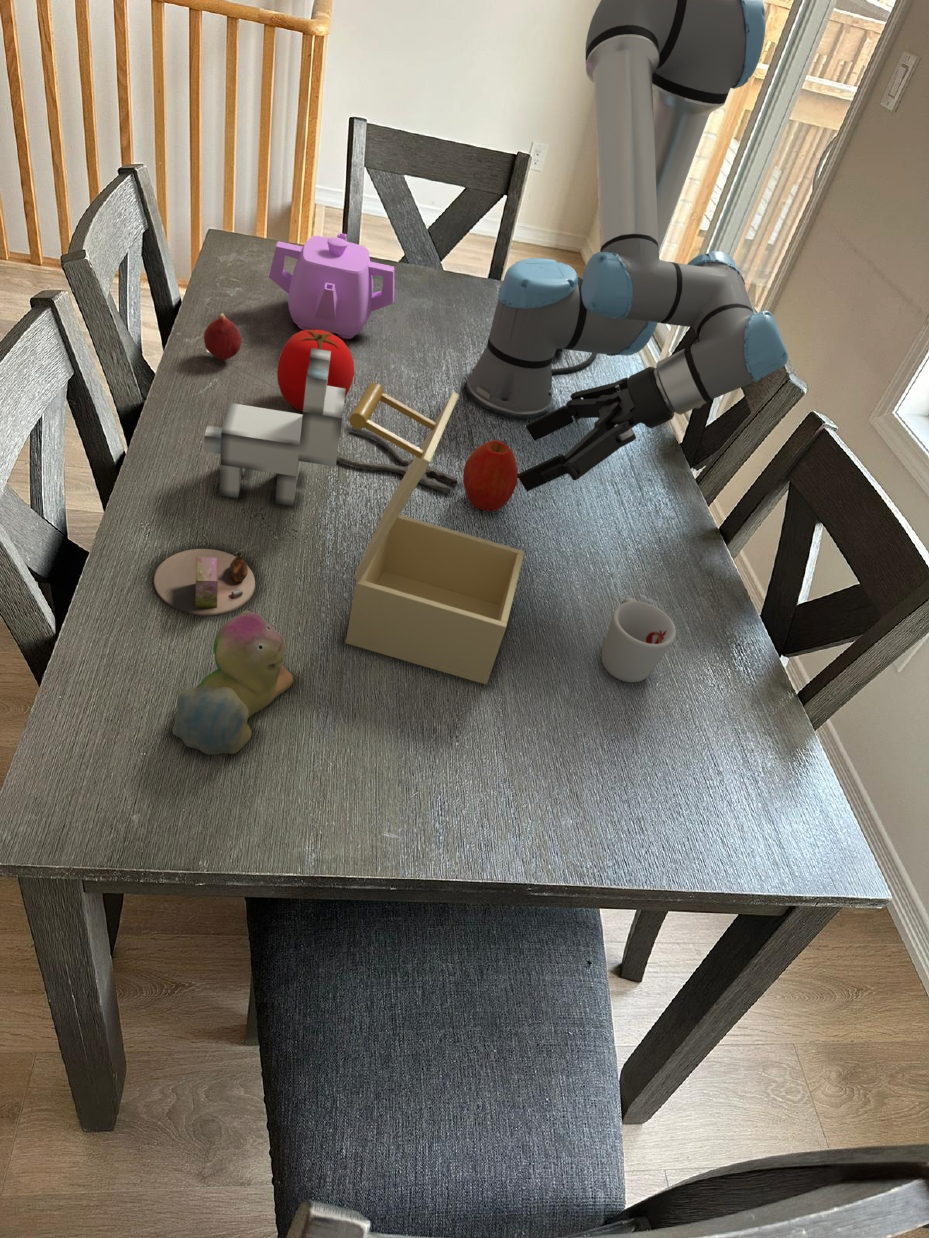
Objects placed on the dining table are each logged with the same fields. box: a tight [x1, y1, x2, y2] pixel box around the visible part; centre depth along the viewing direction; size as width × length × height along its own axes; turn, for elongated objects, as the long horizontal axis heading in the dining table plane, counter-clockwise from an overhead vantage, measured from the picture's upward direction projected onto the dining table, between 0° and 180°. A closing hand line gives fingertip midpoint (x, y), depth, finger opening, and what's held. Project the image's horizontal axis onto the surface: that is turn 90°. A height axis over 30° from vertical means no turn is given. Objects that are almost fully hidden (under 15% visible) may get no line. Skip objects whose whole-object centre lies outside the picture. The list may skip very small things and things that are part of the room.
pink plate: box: [152, 548, 256, 617], centre depth 107 cm, size 12×12×4 cm
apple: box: [462, 439, 519, 513], centre depth 129 cm, size 8×8×11 cm
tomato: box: [276, 329, 355, 413], centre depth 138 cm, size 12×12×13 cm
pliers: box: [337, 426, 458, 494], centre depth 136 cm, size 10×1×20 cm
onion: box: [203, 312, 242, 362], centre depth 144 cm, size 6×6×8 cm
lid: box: [348, 382, 460, 581], centre depth 98 cm, size 18×15×9 cm
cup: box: [601, 597, 677, 683], centre depth 112 cm, size 11×8×8 cm
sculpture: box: [172, 610, 294, 755], centre depth 92 cm, size 15×8×10 cm, turn 164°
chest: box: [345, 513, 525, 686], centre depth 108 cm, size 18×15×10 cm
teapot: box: [268, 232, 395, 340], centre depth 159 cm, size 19×18×15 cm
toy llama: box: [203, 348, 346, 507], centre depth 118 cm, size 8×18×20 cm, turn 92°
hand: (526, 457), depth 127 cm, fingers open, 13 cm apart
